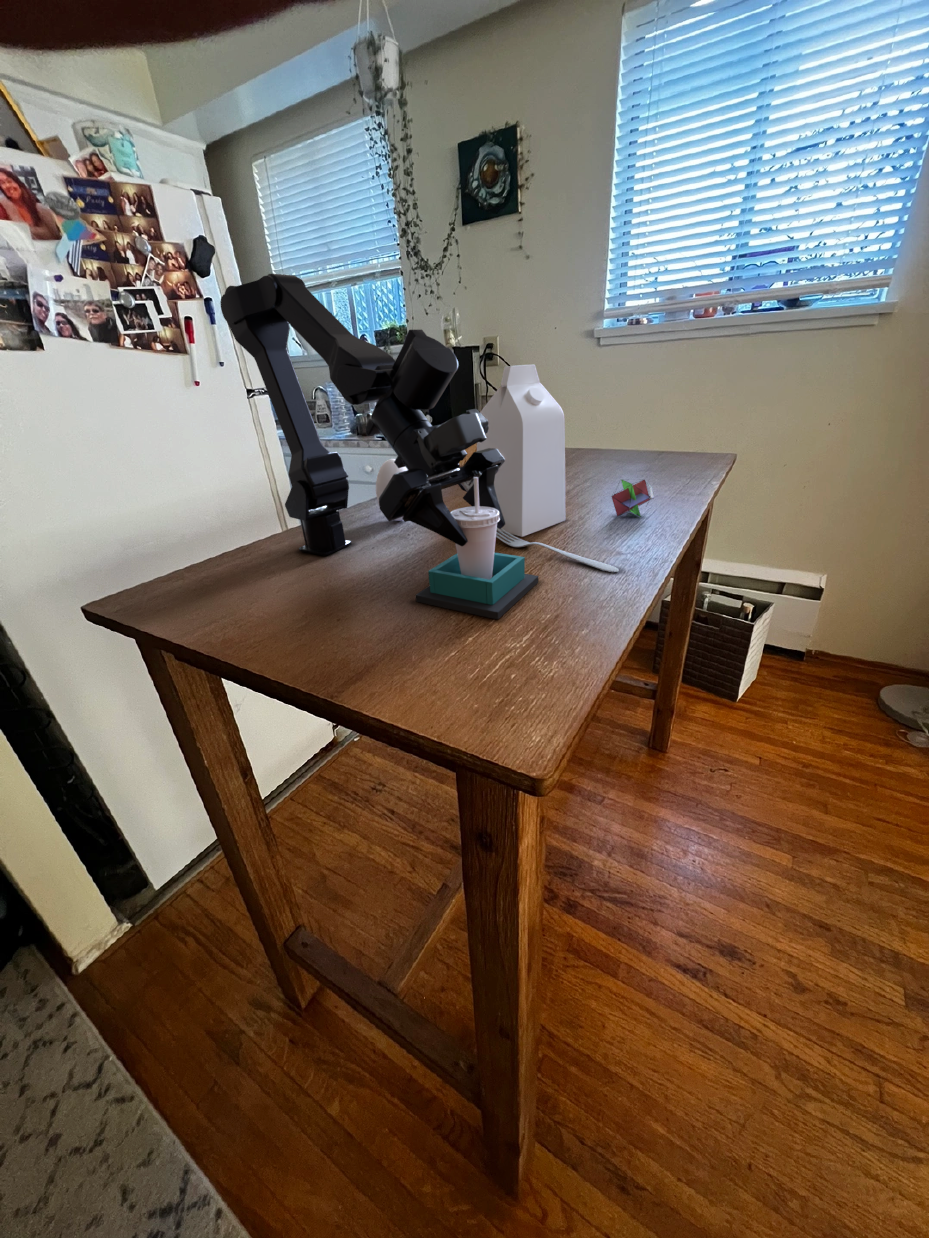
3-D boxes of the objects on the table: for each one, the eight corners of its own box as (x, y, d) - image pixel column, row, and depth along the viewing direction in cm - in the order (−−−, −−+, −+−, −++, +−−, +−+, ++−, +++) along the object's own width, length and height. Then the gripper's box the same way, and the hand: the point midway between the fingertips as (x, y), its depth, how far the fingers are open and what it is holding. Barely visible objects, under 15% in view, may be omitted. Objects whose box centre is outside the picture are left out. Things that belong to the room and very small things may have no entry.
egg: (377, 527, 95) (368, 463, 90) (382, 516, 102) (374, 456, 96) (416, 524, 95) (409, 461, 90) (419, 514, 102) (412, 454, 96)
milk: (519, 510, 100) (518, 364, 88) (565, 520, 92) (571, 362, 80) (475, 524, 93) (468, 368, 81) (522, 536, 86) (521, 366, 73)
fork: (611, 575, 69) (612, 563, 68) (486, 540, 85) (486, 530, 84) (624, 568, 71) (625, 556, 70) (499, 535, 87) (499, 525, 86)
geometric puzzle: (612, 511, 88) (641, 472, 86) (595, 502, 94) (622, 464, 92) (639, 531, 91) (668, 493, 89) (621, 521, 97) (648, 485, 95)
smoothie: (482, 598, 62) (477, 485, 56) (443, 588, 66) (434, 480, 59) (511, 581, 67) (509, 474, 60) (472, 571, 70) (467, 470, 64)
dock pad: (415, 601, 65) (412, 573, 63) (463, 569, 74) (461, 543, 72) (498, 620, 59) (497, 589, 57) (538, 582, 68) (538, 554, 66)
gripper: (382, 395, 51) (471, 515, 50) (491, 381, 64) (565, 477, 62) (345, 467, 59) (421, 572, 58) (448, 442, 72) (513, 529, 71)
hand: (484, 535), depth 62 cm, fingers open, 7 cm apart
